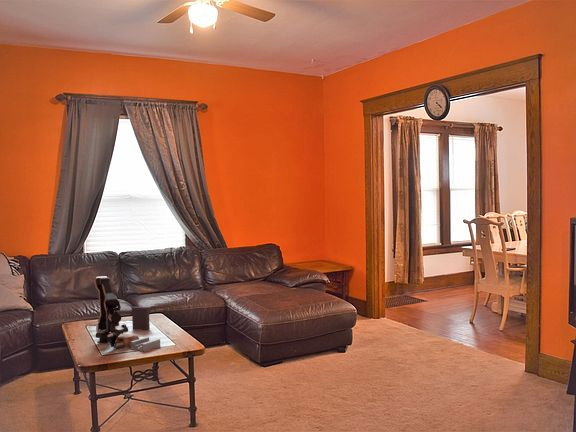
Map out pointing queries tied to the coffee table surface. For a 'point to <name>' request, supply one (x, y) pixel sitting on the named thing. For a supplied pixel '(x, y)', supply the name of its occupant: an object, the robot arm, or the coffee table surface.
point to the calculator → (140, 318)
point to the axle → (121, 343)
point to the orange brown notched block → (126, 339)
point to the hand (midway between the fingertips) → (112, 346)
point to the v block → (145, 344)
